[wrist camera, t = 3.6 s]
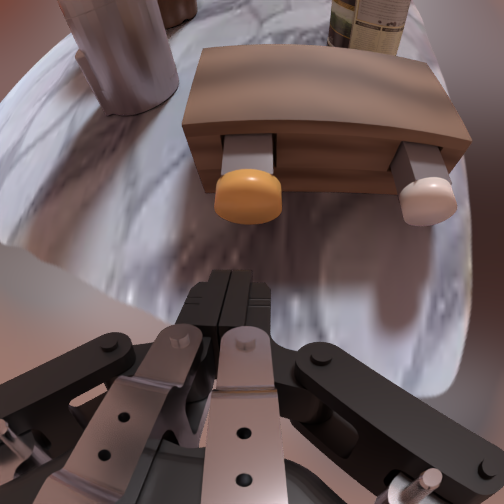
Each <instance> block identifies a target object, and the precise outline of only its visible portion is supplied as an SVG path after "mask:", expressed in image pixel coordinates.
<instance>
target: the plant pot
mask: <svg viewBox="0 0 504 504" xmlns="http://www.w3.org/2000/svg"><path fill="white" fill-rule="evenodd" d="M157 2H158V6H159V10H160V13H161V17H162V20H163V24H164V28H165V29H168V28H171V27H174V26H176V25H179V24H181V23H182V22H183V20H185V19H191V18H192V17H194V16H195V15H196V13H197V2H196V0H157Z"/></svg>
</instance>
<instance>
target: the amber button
mask: <svg viewBox="0 0 504 504" xmlns="http://www.w3.org/2000/svg"><path fill="white" fill-rule="evenodd" d="M214 209H215V212H216V213H217V214H218V215H219V216H220V217H221V218H223V219H225V220H227V221H230V222H233V223H238V224H246V225H252V224H261V223H266V222H269V221H271V220H273V219H275V218H277V217H278V216H279V215H280V214H281V211H282V195H281V184H280V182H279V180H278V179H277V178H276V177H274V176H273V149H272V133H255V134H228V135H225V140H224V150H223V160H222V170H221V178H220V179H219V180H218V182H217V184H216V194H215V205H214Z"/></svg>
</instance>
